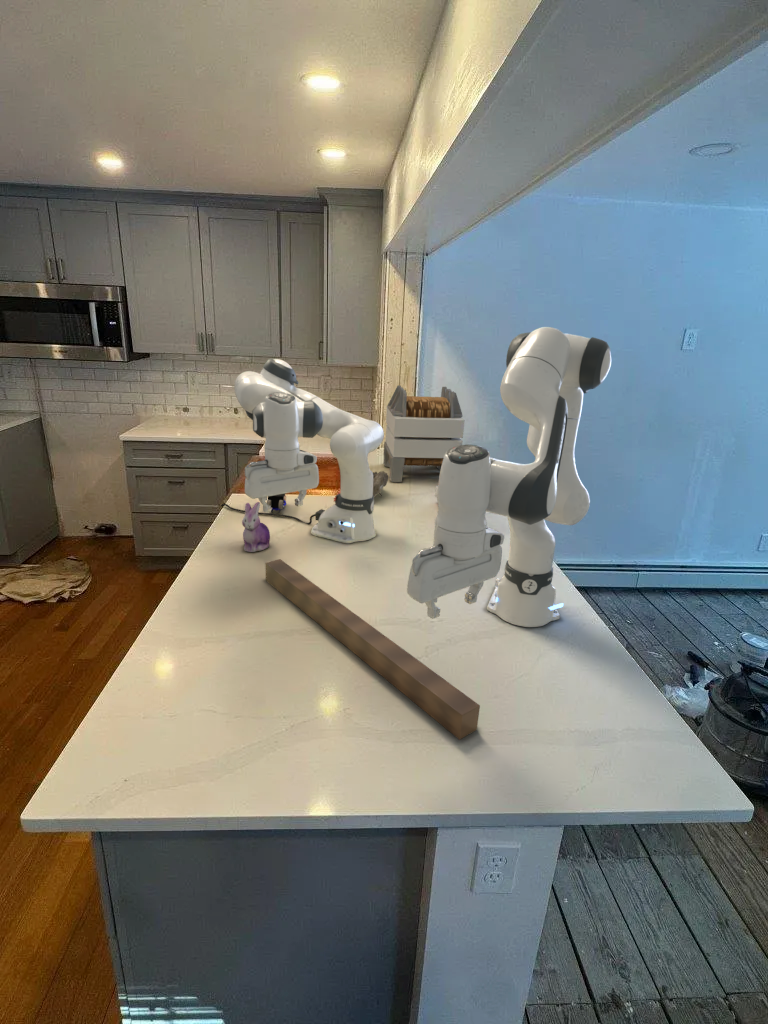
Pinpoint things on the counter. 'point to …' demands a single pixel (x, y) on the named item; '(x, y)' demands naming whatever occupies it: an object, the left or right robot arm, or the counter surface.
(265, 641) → the counter surface
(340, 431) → the left robot arm
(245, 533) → the figurine
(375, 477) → the fossil
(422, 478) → the counter surface
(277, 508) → the figurine character
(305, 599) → the beam
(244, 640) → the counter surface
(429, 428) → the white boxy stand
